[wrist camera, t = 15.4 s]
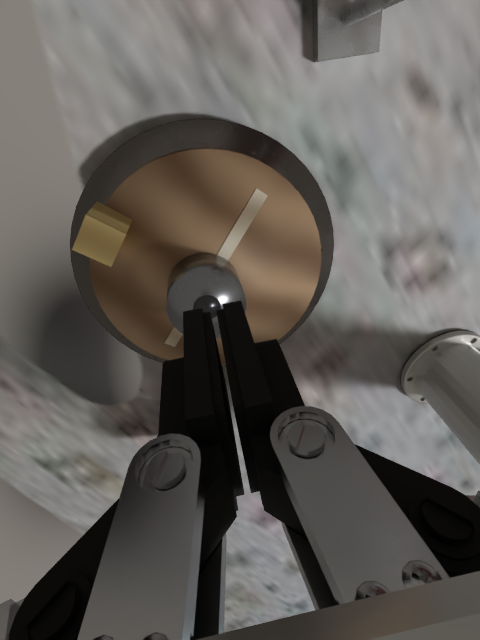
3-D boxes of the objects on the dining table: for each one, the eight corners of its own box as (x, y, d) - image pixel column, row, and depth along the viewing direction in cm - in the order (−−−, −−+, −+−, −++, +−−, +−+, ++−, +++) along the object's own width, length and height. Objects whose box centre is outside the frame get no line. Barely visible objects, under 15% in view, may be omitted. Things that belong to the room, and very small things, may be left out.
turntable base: (331, 96, 29) (336, 95, 28) (328, 339, 43) (331, 344, 42) (21, 146, 28) (15, 147, 27) (123, 380, 42) (122, 386, 41)
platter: (146, 82, 25) (139, 77, 21) (359, 227, 34) (387, 247, 30) (55, 309, 34) (35, 342, 29) (243, 379, 43) (251, 413, 38)
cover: (192, 238, 31) (194, 255, 27) (253, 276, 34) (262, 296, 30) (154, 297, 33) (151, 319, 30) (213, 327, 36) (217, 351, 33)
